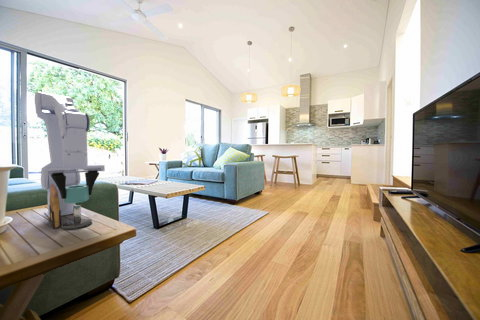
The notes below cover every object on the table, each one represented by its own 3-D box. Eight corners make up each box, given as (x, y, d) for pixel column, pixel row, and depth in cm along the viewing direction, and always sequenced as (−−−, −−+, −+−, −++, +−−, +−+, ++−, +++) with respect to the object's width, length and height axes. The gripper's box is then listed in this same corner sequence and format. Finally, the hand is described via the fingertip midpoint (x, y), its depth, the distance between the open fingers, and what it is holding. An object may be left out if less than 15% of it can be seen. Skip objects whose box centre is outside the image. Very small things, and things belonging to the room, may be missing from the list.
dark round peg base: (59, 225, 60) (58, 206, 59) (87, 219, 65) (87, 201, 65) (65, 231, 55) (65, 211, 55) (95, 224, 61) (94, 205, 61)
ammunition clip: (61, 227, 59) (59, 187, 58) (52, 229, 57) (51, 188, 57) (57, 218, 66) (56, 183, 65) (49, 219, 64) (48, 183, 64)
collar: (62, 201, 59) (62, 186, 59) (84, 197, 64) (84, 184, 63) (67, 204, 56) (67, 189, 56) (90, 200, 60) (90, 186, 60)
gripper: (44, 152, 51) (46, 203, 52) (107, 152, 63) (108, 194, 63) (39, 151, 55) (41, 199, 56) (99, 151, 67) (100, 191, 67)
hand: (76, 196), depth 60 cm, fingers closed on collar, 5 cm apart
